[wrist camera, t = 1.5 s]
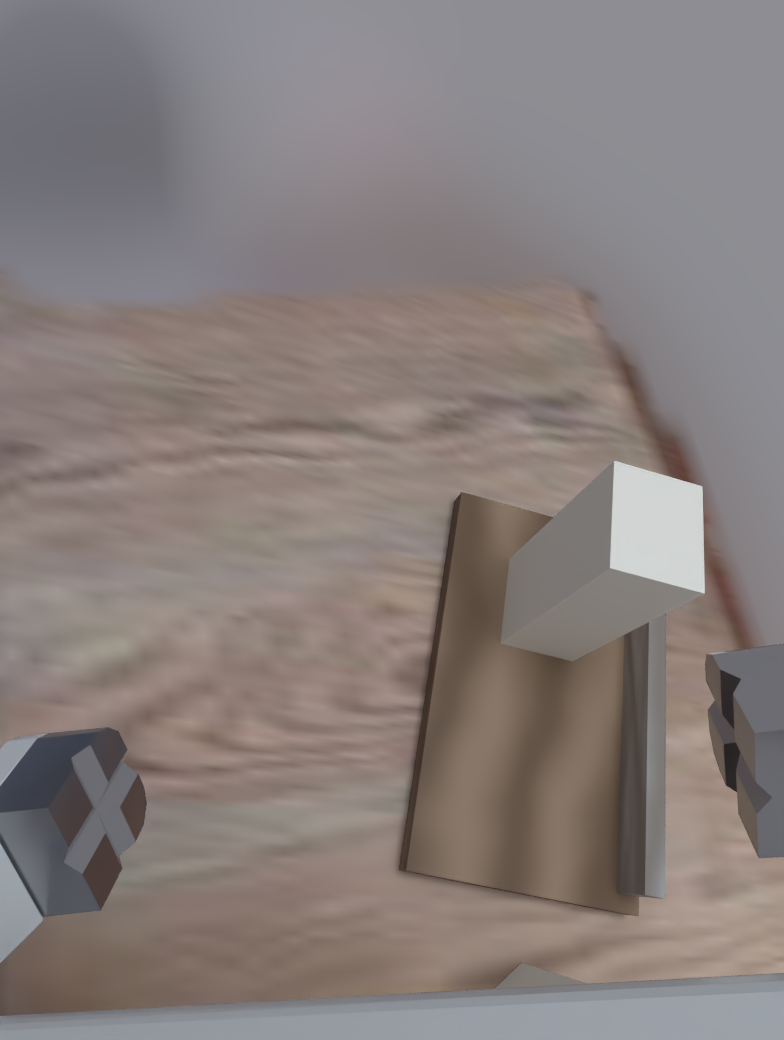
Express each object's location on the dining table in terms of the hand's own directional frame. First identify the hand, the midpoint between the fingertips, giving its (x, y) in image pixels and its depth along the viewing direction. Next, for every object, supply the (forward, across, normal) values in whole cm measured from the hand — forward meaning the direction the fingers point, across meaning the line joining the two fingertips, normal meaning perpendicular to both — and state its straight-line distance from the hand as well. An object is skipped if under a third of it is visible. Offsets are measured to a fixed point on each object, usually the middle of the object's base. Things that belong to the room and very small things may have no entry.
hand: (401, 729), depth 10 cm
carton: (+35, -2, +20) cm, 40 cm away
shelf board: (+32, -1, +24) cm, 40 cm away
